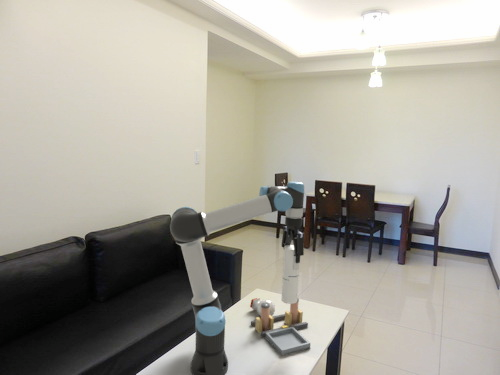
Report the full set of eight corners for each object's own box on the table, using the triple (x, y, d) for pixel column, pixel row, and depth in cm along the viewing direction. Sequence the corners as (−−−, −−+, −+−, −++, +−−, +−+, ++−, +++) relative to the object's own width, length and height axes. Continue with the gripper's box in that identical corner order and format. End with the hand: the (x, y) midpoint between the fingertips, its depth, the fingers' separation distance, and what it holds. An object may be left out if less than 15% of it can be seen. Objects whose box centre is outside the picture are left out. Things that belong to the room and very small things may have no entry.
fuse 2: (292, 325, 176) (293, 301, 174) (287, 321, 180) (289, 297, 178) (299, 323, 178) (300, 299, 176) (294, 320, 182) (295, 296, 180)
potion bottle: (270, 324, 179) (253, 315, 191) (281, 309, 184) (263, 301, 196) (262, 313, 175) (244, 304, 187) (273, 298, 180) (255, 291, 192)
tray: (281, 355, 151) (281, 350, 150) (265, 337, 164) (265, 332, 164) (310, 348, 157) (310, 343, 157) (292, 331, 170) (292, 326, 170)
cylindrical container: (296, 304, 154) (299, 250, 151) (280, 302, 155) (283, 248, 152) (297, 297, 161) (300, 245, 158) (282, 295, 162) (285, 244, 159)
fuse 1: (262, 332, 169) (263, 307, 167) (258, 328, 173) (259, 303, 171) (270, 330, 171) (271, 305, 169) (266, 326, 174) (267, 301, 173)
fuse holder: (262, 337, 164) (262, 325, 163) (250, 324, 175) (251, 313, 174) (307, 327, 175) (308, 315, 174) (294, 315, 186) (294, 304, 186)
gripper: (314, 221, 146) (311, 273, 149) (289, 211, 163) (286, 258, 166) (299, 222, 142) (296, 275, 145) (275, 212, 160) (273, 260, 163)
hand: (291, 266), depth 156 cm, fingers closed on cylindrical container, 7 cm apart
